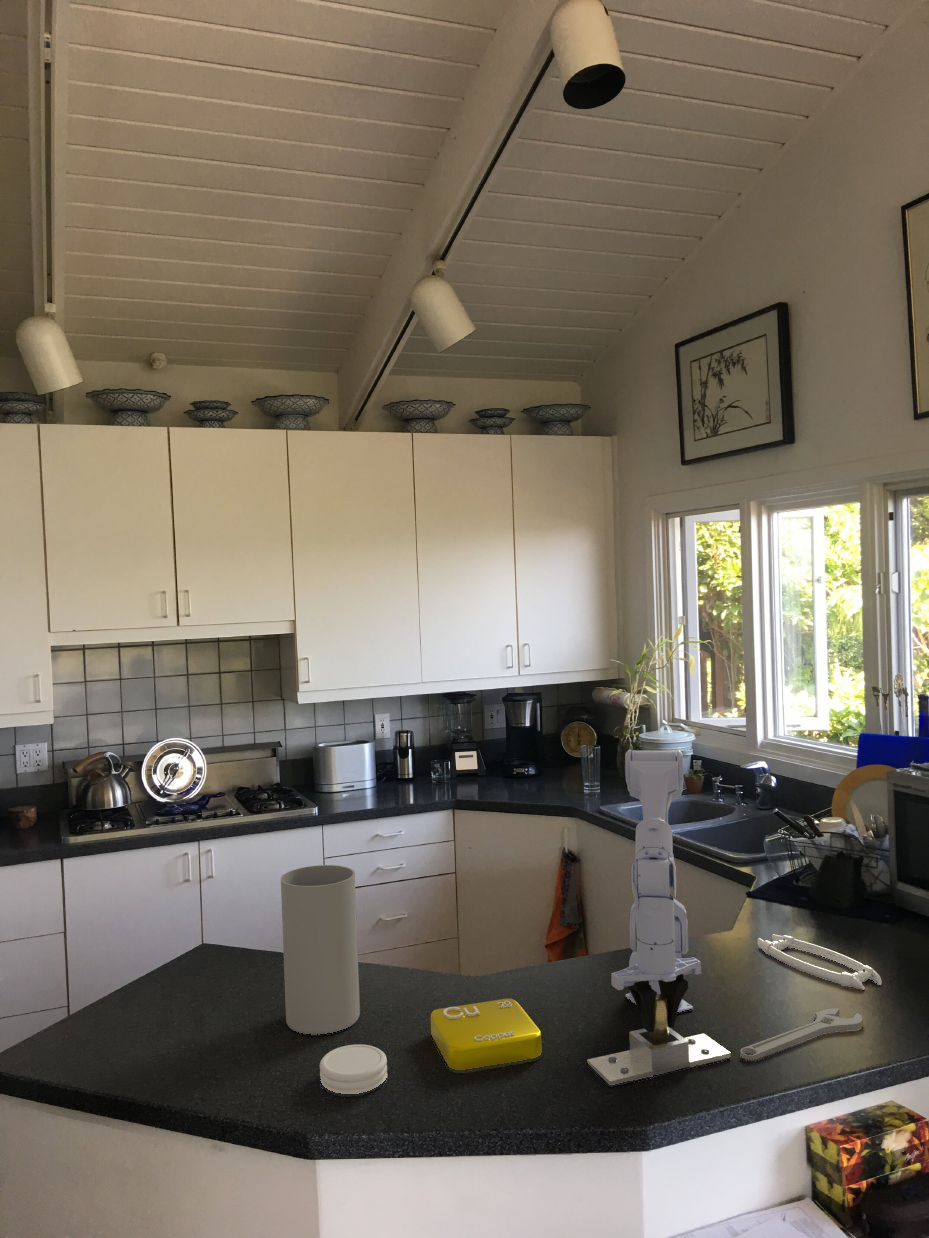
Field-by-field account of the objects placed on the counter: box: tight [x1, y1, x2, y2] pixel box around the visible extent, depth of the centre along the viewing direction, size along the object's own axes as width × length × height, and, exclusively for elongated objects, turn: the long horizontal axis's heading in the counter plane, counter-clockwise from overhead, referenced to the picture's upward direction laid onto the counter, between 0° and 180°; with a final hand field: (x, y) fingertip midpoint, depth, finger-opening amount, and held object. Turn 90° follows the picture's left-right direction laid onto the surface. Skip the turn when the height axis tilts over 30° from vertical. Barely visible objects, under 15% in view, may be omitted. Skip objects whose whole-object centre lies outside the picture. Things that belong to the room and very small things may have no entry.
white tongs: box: [757, 933, 882, 991], centre depth 179 cm, size 3×10×25 cm
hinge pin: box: [648, 994, 669, 1042], centre depth 143 cm, size 3×3×6 cm
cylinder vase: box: [280, 864, 361, 1036], centre depth 162 cm, size 12×12×25 cm
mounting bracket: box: [586, 1027, 732, 1085], centre depth 143 cm, size 7×21×4 cm, turn 110°
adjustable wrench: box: [739, 1007, 864, 1060], centre depth 150 cm, size 25×6×2 cm, turn 115°
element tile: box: [430, 998, 543, 1070], centre depth 151 cm, size 15×15×5 cm
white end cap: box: [319, 1044, 388, 1094], centre depth 141 cm, size 10×10×4 cm
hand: (658, 1027), depth 143 cm, fingers closed on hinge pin, 3 cm apart
